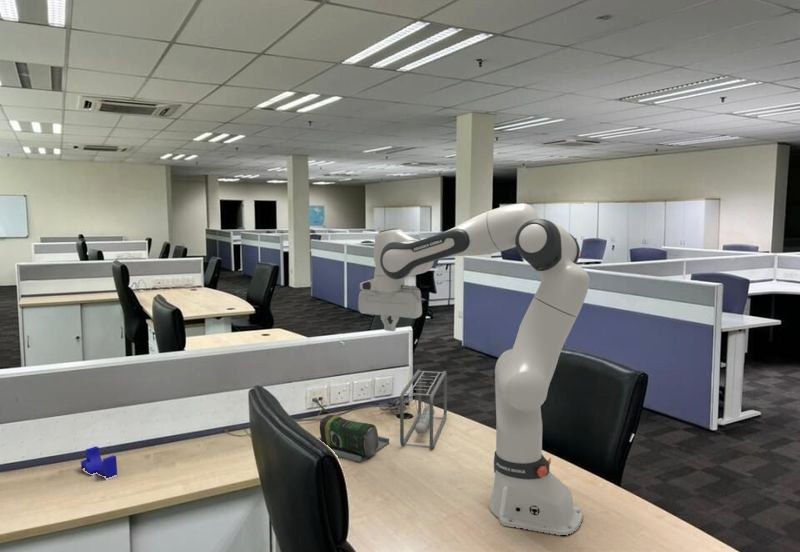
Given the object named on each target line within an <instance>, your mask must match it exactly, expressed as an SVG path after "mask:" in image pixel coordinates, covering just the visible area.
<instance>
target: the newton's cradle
mask: <svg viewBox="0 0 800 552" xmlns="http://www.w3.org/2000/svg"><path fill="white" fill-rule="evenodd" d="M425 373H432V374H437V375H435V376H433V375H431V377H432V378H433V377H435V379H427V378H426V380H428V381H429V380H432V381H433V382H431V385H430V386H429V385H427V387H429V388H428V389H427V391H424V390H426V388H425V387H426V386H423V385H425V384H426V381H425V382H424V381H422V380H424V374H425ZM440 374H441V375H440ZM439 376H440V377H439ZM438 377H439V379H438ZM416 378H417V380H416ZM437 379H438V381H437ZM415 380H416V382H415V383H414V381H415ZM447 380H448V373H447V371H446V370H444V371H428V370H427V371H426V370H420V369H417V371H415V373H414V374H413V376H412V377H411V378H410V380H409V382H408V383H407V384H406V386H405V387H404V388H403V389H402V391H401V392H400V398H399V426H400V427H399V433H400V434H399V437H400V438H399V439H400V443H399V444H400V446H401V447H405V446H412V447H422V448H423V447H425V448H430V449H431V450H434V448H435V447H436V444H437V441H438V439H439V436H440V434H441V432H442V430H443V427H444V424H445V422H446V421H447V415H448V411H447V410H448V407H447V406H448V404H447V403H448V387H447V386H448V381H447ZM436 381H437V382H436ZM442 382H443V415H442V417H438V416H434V415H435V413H436V411H435V408H434V397H435V395H436V393H437V391H438V389H439V388H440V386H441V384H442ZM412 384H413V386H412ZM411 386H412V388H410V387H411ZM423 388H424V389H423ZM409 389H410V390H409ZM422 389H423V390H422ZM408 390H409V392H407V391H408ZM412 391H413V393H412ZM415 391H416V392H415ZM423 391H424V392H425V393H424V392H423ZM405 395H413V397H414V398H416V396H417V400H418V401H417V402H418V403H417V402H416V399H414V401H415V402H414V403H417V404H415V406H416V407H415V408H416V411H417V416H416V417H415V419H414V421H413V423H412V425H411V427H410V428H409V430H408V431H407V434H406V435H405V425H404V424H405V421H404V417H405V414H404V413H405V411H404V399H405ZM422 396H423V399H426V400H423V401H424V402H423V401H422ZM424 396H425V398H424ZM422 403H424V405H423V404H422ZM434 419H440V420H441V421H440V424H439V427H438V428H437V430H436V433H435V435H434ZM428 427H429V428H428ZM427 429H429V445H425V444H424V445H423V444H415V443H414V444H413V443H407V442H408V440H409V438H410V437H411V435H412V433H413V431H414V430H415V432H416V434H418V435H424V434H425V433H426V432H427Z"/></svg>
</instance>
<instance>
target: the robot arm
mask: <svg viewBox="0 0 800 552" xmlns="http://www.w3.org/2000/svg"><path fill="white" fill-rule="evenodd" d="M514 248H516V249H517V250H516V251H517V253H519V255H520V256H521V257H522V259H523V260H524V261H526V262H527V263H528V264H529V265H530V266H531V267H532V268H533V269H534V270H535V272H540V274H541V280H540V284H539V286H538V288H537V291H536V292H535V294H534V296H533V298H532V300H531V302H530V304H529V306H528V308H527V310H526V311H525V314H524V317H522V320H521V322H520V324H519V326H518V327H519V328H518V332H517V334H516V338H515V340H514V341H515V342H514V344H513V346H512V348H510V349H507V350H505V351H504V352H503V353H501V354H500V356H499V357H498V359H497V360H496V363H495V366H494V367H495V368H494V381H495V382H494V386H495V415H496V417H495V418H496V423H495V424H496V428H495V429H496V430H495V431H496V432H495V433H496V435H495V437H496V439H495V441H496V442H495V443H496V444H495V445H496V446H495V450H494V453H493V454H494V456H493V472H494V479H493V480H494V481H493V487H492V492H491V497H490V500H489V503H488V508H489V511H490V512H491V513H492V514H493V515H494V516H496V517H497V519H498V521H499V523H500V524H501V525H502V526H505V527H510V528H514V527H516V528H515V529H520V528H523V529H522V530H526V529H528V530H527V531H532V530H533V532H537V531H538V532H537V533H543V532H544V534H549V533H550V534H549V535H554V534H556V535H555V536H560V535H567V536H569V535H568V534H570V535H572V534H574V533H575V532H577V530H578V529H579V528H580V527H579V526H581V525H582V523H581V522H583V520H584V519H583V518H584V516H583V510H582V509H581V507H580V506H578V505H576V504H574V499H573V495H572V492H571V490H570V488H569V487H568V486H567V485H566V484H565V483H563V482H562V481H561V480H560V479H559V478H558V477H557V476H556V475H555V474H554V473H552V471H550V464H551V461H552V458H551V457H549V458H548V460H547V458H545V456H544V454H543V451H542V450H543V419H542V411H541V410H542V409H541V406H542V405H544V402H545V401H546V400H547V397H548V391H549V387H550V383H551V381H552V379H553V377H554V374H555V370H556V368H557V365H558V361H559V358H560V355H561V352H562V349H563V348H564V347H563V346H564V344H565V343H566V341H567V338H568V336H569V334H570V333H571V330H572V328H573V326H574V325H575V322H576V320H577V318H578V316H579V314H580V312H581V309H582V307H583V304H584V302H585V299H586V297H587V294H588V290H589V287H590V286H589V285H590V282H591V281H590V276H589V274H588V272H587V271H586V270H585V269H584V268H583V267H582V266H580V265H579V264H577V263H578V261H579V259H580V255H581V254H580V253H581V248H580V245H579V243H578V241H577V238H576V237H574V235H572V234H571V233H569V232H568V231H567V230H566V229H565V228H563V227H562V226H561V225H559V224H557V223H554V222H553V221H550V220H548V219H544V218H539V215H538V213H537V211H536V210H535V209H534V207H533V206H531V205H530V204H527V203H525V202H524V203H523V202H522V203H515V204H508V205H505V206H504V205H503V206H500V207H497V208H493V209H490V210H488V211H485V212H483V213H479V214H478V215H476V216H473V218H470V219H467V220H465V221H464V222H462V223H460V224H458V225H456V226H454V227H453V228H450V229H447V230H445V231H444V232H441V233H439V234H435V235H433V236H432V235H431V236H430V237H429V236H428V237H426V238H423V239H416V238H414V237H411V236H410V235H408V234H407V233H405V232H404V231H403V230H402V229H401V228H388V229H384V230H380V231H378V232H377V234H376V235H375V238H374V243H373V262H374V264H375V265H374V266H375V270H374V276H373V278H370V279H369V280H365V281H362V282H360V283H359V289H360V291H359V294H358V301H357V302H358V312H359V313H361V314H364V315H375V316H380V320H381V322H382V323H383V327H384V331H388V332H395V331H396V330H397V327H396V326H397V324H398V321H400V318H406V319H417V318H420V317H421V316H422V315H423V305H422V299H421V298H422V292H421V290H420V288H418V287H417V286H416V285H406V284H405V277H406V278H407V277H412V276H416V275H421V274H424V273H427V272H429V271H430V270H431V269H432V268H433V266H434V264H435V261H437V260H438V261H439V260H442V259H444V258H445V259H446V258H451V257H465V256H467V257H469V256H473V257H474V256H483V255H484V256H485V255H486V256H487V255H492V254H496V253H500V252H504V251H507V250H509V249H514ZM389 317H391V321H392V322H391V323H389V320H388V319H389ZM574 531H575V532H574ZM573 532H574V533H573ZM571 533H572V534H571Z"/></svg>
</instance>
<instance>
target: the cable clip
mask: <svg viewBox="0 0 800 552" xmlns="http://www.w3.org/2000/svg"><path fill="white" fill-rule="evenodd" d="M80 465H81V467H80V468H82V469H83V468H85V471H87V472H88V473H90V474H93V473H96V472H97V473H98V474H100V475H102V476H106V478H109V477H112V476H114V475H117V476H118V466H117V456H116V455H114V454H113V455H111V456H107V457H105V458H102V457H101V453H100V448H99V446H97V445H95V446H93V447H89V448H86V449H85V459H83V460H80Z"/></svg>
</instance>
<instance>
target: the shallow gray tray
mask: <svg viewBox="0 0 800 552" xmlns="http://www.w3.org/2000/svg"><path fill="white" fill-rule="evenodd" d="M318 439H320V440H321V436H319V437H318ZM378 440H379V445H378V448H377V450H376V452H375V453H374V454H373V455H375V454H376V453H378V452H379V451H380V450H382V449H384V448H385V447H386V446H388V445H390V438H389V437H385V436H380V435H378ZM321 441H322V440H321ZM330 448H331V447H330ZM331 449H332V450H333V451H334V452H335V454H336V455H337V456H338V457H337V458H339V459H343V460H346V461H351V462H354V463H359V464H361V463H363V462H364V461H366V460H367V459H368V458H365V457H362V456H359V455H357V454H354V453H352V452H349V451H346V450H344V449H341V448H336V447H335V448H331Z"/></svg>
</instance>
